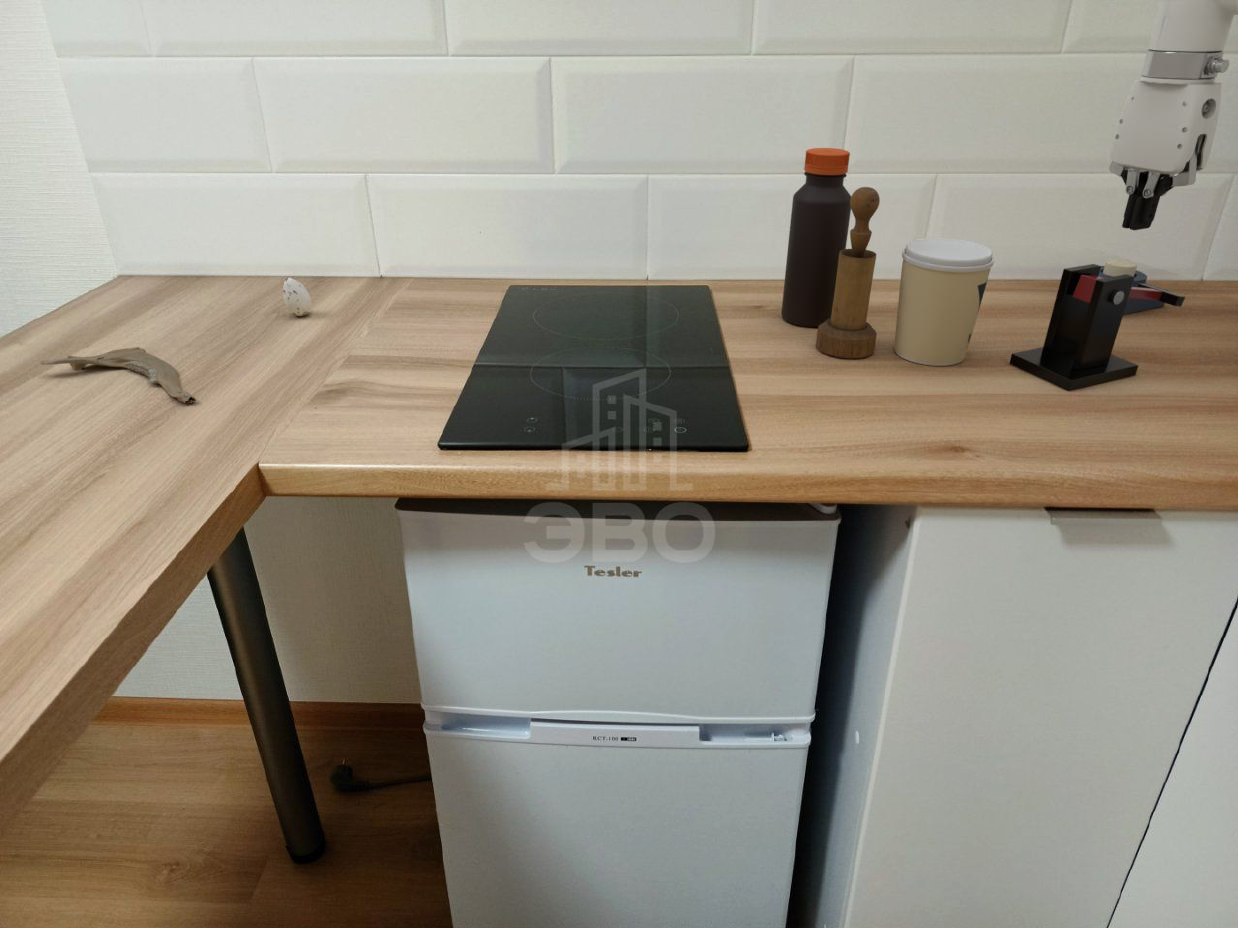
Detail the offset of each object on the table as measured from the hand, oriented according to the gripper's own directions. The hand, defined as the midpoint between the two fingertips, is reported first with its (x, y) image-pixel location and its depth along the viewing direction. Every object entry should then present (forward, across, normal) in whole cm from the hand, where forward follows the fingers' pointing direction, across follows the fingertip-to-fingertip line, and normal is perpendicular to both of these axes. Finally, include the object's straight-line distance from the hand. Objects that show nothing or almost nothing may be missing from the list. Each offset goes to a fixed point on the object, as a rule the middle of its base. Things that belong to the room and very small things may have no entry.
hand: (1135, 227), depth 108 cm
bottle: (+10, +12, +40) cm, 43 cm away
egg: (+8, +38, +98) cm, 106 cm away
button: (+6, 0, 0) cm, 6 cm away
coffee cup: (+10, -4, +34) cm, 36 cm away
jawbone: (+9, +24, +118) cm, 121 cm away
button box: (+10, 0, 0) cm, 10 cm away
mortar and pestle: (+10, +2, +42) cm, 43 cm away
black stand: (+10, -14, +23) cm, 29 cm away
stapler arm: (+3, -14, +18) cm, 23 cm away
